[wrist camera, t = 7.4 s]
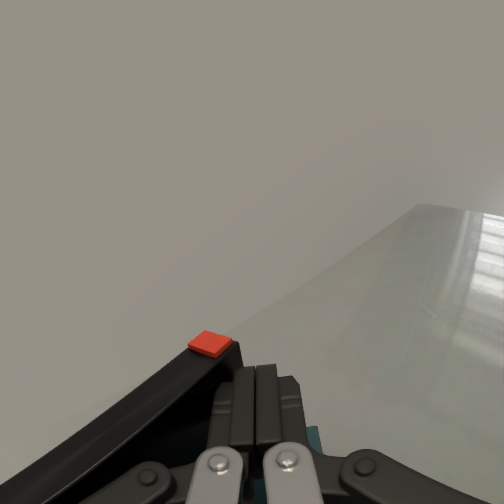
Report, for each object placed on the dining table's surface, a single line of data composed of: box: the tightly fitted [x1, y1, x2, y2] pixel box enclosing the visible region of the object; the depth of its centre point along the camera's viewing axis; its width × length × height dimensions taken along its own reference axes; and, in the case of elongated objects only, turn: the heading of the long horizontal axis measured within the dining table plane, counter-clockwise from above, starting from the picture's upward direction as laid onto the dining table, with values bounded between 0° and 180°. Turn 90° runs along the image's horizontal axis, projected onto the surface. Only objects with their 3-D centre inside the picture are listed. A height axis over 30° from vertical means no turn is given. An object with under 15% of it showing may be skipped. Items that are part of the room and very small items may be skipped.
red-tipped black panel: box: [0, 331, 244, 504], centre depth 8 cm, size 11×2×7 cm, turn 148°
